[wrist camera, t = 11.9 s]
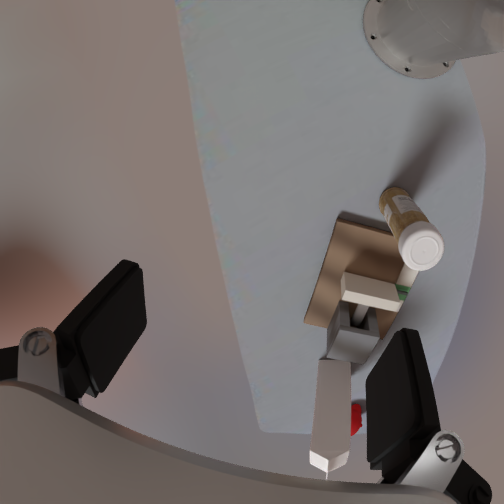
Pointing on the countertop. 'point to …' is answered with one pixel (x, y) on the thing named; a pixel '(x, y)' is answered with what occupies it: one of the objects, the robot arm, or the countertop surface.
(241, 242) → the countertop surface
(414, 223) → the sprinkles bottle
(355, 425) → the cap
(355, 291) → the spring plunger
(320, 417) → the milk
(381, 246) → the gauge frame
